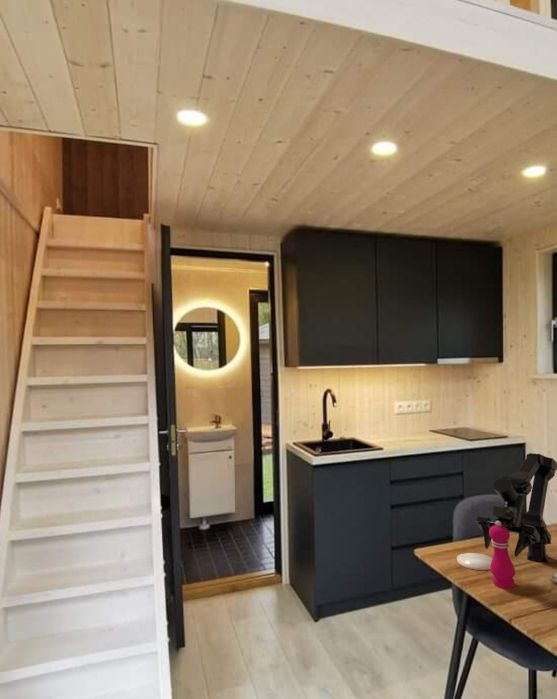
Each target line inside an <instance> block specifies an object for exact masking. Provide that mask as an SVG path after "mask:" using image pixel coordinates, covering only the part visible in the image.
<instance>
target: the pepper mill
mask: <svg viewBox="0 0 557 699" xmlns="http://www.w3.org/2000/svg"><path fill="white" fill-rule="evenodd" d="M494 522H495V524H496V525H494V526H492V527H491V528H490V530H489V535H490V537H491V545H492V547H493V557H492V558H493V559H492V561H491V565H490V572H491V574H492V575H493V576H492V583H493V585H494V586H495V587H498V588H500V589H506V590H507V589H514V587H515V586H516V585H515V579H514V577H515V575H516V568H515V567H514V566H515V565H514V564H513V562H512V560H511V557H510V555H509V551H508V549H509V547H510V546H509V541H508V540H509V539H510V537H511V535H510V532H509V531H508V530H507V528H505V527H504V526H501V522H500V521H497V520H495V521H494Z"/></svg>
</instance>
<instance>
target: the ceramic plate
mask: <svg viewBox="0 0 557 699" xmlns="http://www.w3.org/2000/svg"><path fill="white" fill-rule="evenodd" d="M492 559H493V557H491V556H489V555H486V554H482V553H477V552H465V553H461V554H458V555H457V557H456V562H457V563H458V564H459V566H462V567H463V568H466V569H470V570H476V571H489V570H490V565H491V561H492Z"/></svg>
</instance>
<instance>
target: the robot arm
mask: <svg viewBox="0 0 557 699" xmlns="http://www.w3.org/2000/svg"><path fill="white" fill-rule="evenodd" d="M556 471H557V461H556V460H555V459H554V458H553V457H548V456H545V455H543V454H541V453H531V452H529V453H527V454H526V457H525V459H524V461H523V462H522V464H521V466H520V467H519V469H518V470H517V471H516V472H513V473H510V474H509V475H502V476H501V478H498V479H496V480H495V481H494V482H493V484H492V486H493V489H494V491H495V492H496V493H497V495H498V497H499V498H500V500H501V501H503V503H502V505H500V506H498V505H492V508H491V509H492V510H491V516H492V517H494V520H495V521H492V519H491V518H490V517H489V516H485V515H480V514H479V515H477V516H476V517H475V520H474V522H475V523H476V525H477V526H478V527H479V529H480V530H481V531H482V532H483V539H484V548H485V549H486V550H488V549H489V547H490V545H491V542H492V538H491V537H490V535H489V530H490V528H491V527H492V526H494V525H496V524H495V522H496V521H500V522H501V526H504V527H505V528H507V530H508V531H509V533H510V532H511V533H515V534H518V540H517V542H516V545H515V548H514V553H513V554H514V557H516V558H517V557H518V556H519V555H520V554H521V553H522V552H523V551H524V550H525V549H527V551H528V552H527V554H526V559H527V560H530V561H531V560H532V561H537V562H543V563H549V554H547V547H546V546H547V545H551V544H552V535H551V533H550V532H549V530H548V528H547V522H545V519H544V518H543V517H544V510H545V503H546V498H547V492H548V486H549V481H550V480H551V479H553V478H554V477H555V474H556ZM532 479H533V482H532V484H531V481H532ZM521 495H522V496H528V495H530V498H529V503H528V504H529V505H528V508H527V509H528V511H527V512H522V509H523V507H525V504H526V503H525V500H524V498H523V497H522V496H521ZM521 513H522V514H521Z"/></svg>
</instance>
